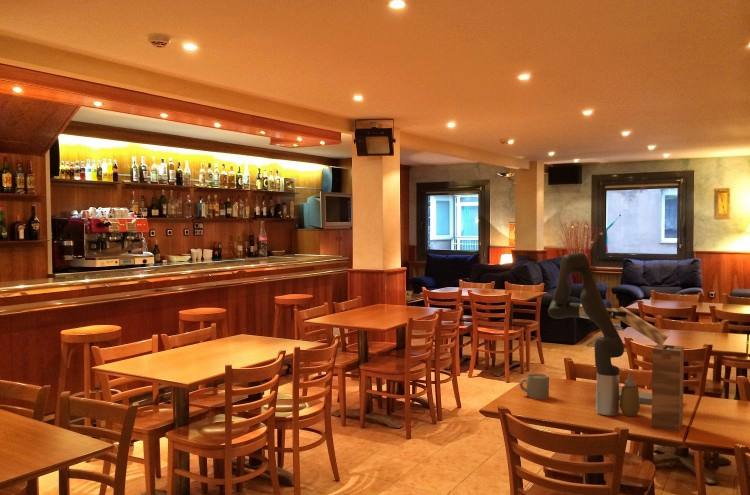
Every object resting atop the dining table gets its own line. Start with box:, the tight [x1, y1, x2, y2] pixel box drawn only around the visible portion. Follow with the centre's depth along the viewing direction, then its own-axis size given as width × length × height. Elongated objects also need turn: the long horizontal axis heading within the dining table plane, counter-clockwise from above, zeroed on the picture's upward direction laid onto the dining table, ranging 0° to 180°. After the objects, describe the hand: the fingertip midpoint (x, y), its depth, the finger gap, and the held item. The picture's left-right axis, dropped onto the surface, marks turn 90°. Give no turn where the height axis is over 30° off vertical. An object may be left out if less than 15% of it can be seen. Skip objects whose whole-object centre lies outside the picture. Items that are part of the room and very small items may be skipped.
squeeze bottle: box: [619, 372, 641, 417], centre depth 271 cm, size 8×8×18 cm
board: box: [619, 389, 652, 406], centre depth 293 cm, size 26×11×2 cm, turn 58°
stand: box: [651, 343, 685, 433], centre depth 255 cm, size 12×10×32 cm
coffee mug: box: [519, 372, 550, 400], centre depth 301 cm, size 13×10×10 cm
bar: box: [614, 305, 669, 345], centre depth 294 cm, size 24×5×5 cm
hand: (627, 313), depth 297 cm, fingers closed on bar, 5 cm apart
